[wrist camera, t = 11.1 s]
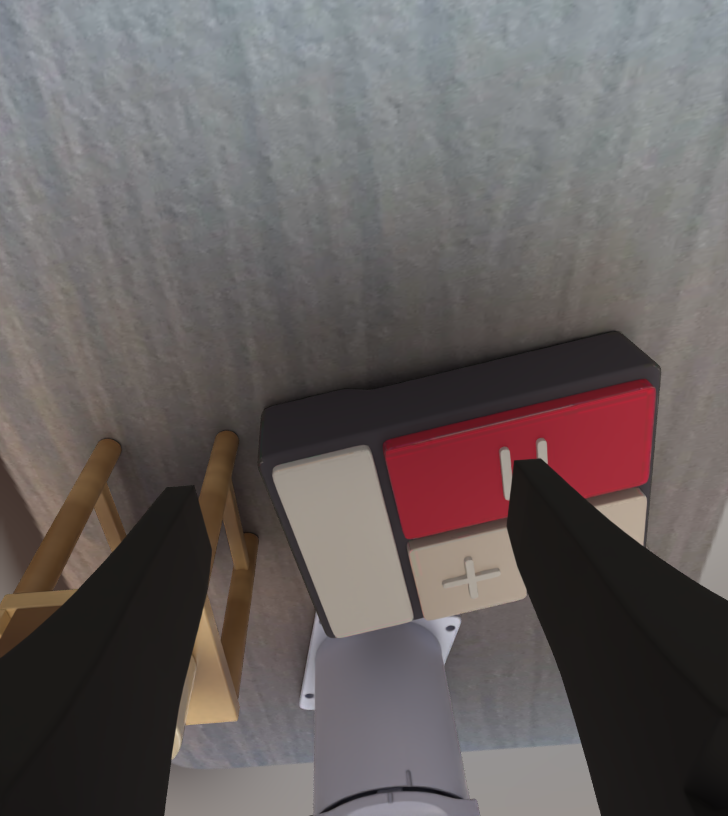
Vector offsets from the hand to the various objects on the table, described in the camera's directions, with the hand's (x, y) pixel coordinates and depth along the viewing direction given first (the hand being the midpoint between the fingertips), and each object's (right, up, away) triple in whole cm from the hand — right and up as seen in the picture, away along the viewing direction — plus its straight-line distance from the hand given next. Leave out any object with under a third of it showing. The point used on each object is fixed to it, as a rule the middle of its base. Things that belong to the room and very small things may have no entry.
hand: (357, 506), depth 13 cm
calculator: (+4, 0, +13) cm, 14 cm away
